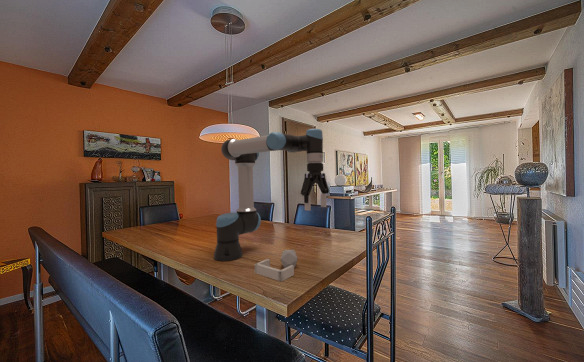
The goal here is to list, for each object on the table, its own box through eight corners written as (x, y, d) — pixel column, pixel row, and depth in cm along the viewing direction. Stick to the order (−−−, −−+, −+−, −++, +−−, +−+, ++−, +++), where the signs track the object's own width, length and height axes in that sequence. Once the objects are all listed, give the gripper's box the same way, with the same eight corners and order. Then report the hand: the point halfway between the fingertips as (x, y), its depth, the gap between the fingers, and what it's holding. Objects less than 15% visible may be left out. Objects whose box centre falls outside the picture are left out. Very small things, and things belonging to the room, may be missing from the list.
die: (291, 272, 112) (302, 253, 115) (275, 262, 113) (286, 244, 116) (291, 272, 119) (301, 254, 122) (276, 263, 121) (286, 245, 124)
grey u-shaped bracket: (254, 272, 111) (254, 264, 111) (267, 267, 118) (267, 258, 118) (281, 281, 101) (281, 272, 101) (294, 274, 108) (293, 265, 108)
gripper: (306, 161, 102) (307, 212, 102) (335, 163, 121) (336, 206, 122) (291, 162, 106) (293, 211, 107) (322, 164, 126) (323, 205, 126)
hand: (316, 208), depth 114 cm, fingers open, 13 cm apart
